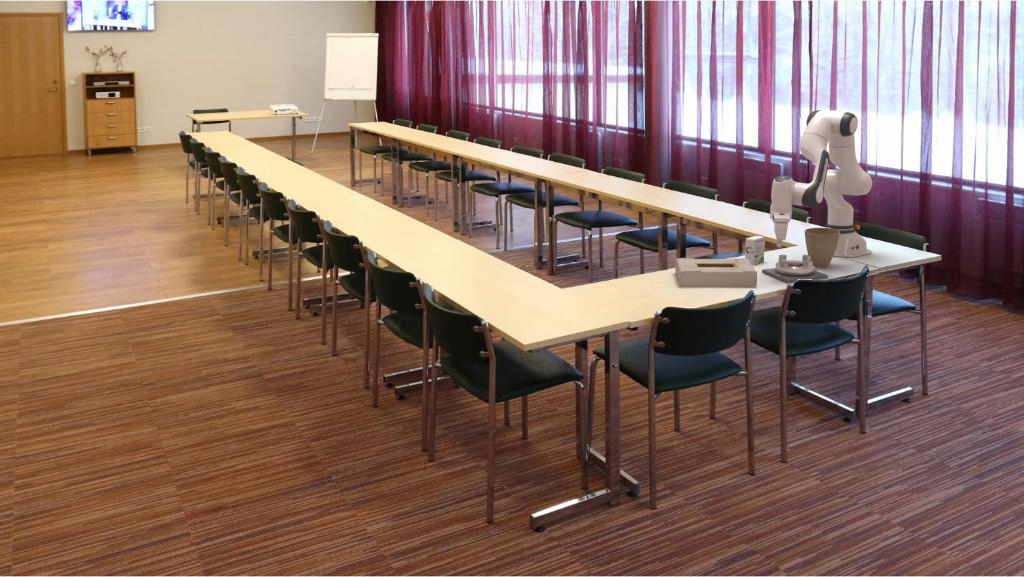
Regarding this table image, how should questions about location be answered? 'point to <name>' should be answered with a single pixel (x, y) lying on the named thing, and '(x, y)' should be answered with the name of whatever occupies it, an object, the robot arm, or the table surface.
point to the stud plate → (792, 279)
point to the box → (715, 272)
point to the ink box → (755, 249)
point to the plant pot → (821, 245)
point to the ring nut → (795, 266)
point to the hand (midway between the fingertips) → (778, 246)
